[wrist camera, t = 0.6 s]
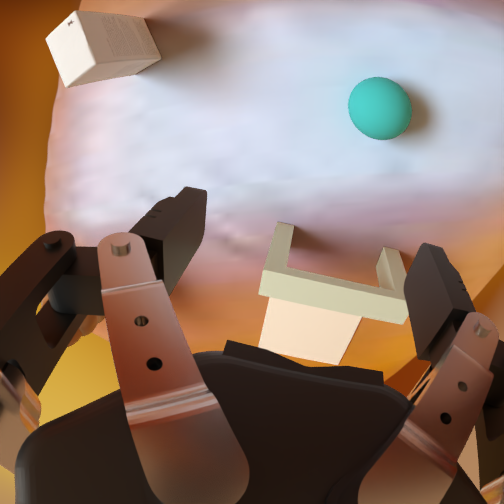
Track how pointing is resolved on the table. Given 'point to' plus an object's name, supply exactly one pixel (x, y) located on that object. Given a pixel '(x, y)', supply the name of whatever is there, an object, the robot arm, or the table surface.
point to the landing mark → (307, 331)
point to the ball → (380, 108)
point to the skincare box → (101, 47)
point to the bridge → (335, 284)
